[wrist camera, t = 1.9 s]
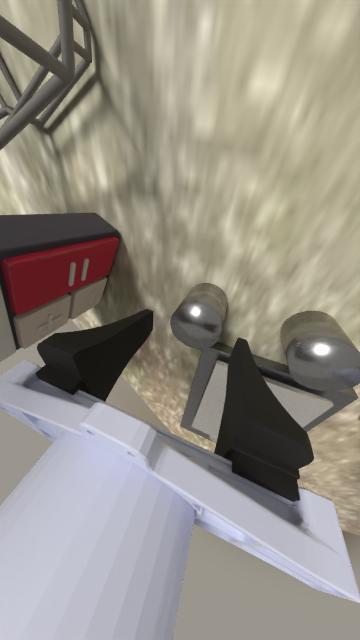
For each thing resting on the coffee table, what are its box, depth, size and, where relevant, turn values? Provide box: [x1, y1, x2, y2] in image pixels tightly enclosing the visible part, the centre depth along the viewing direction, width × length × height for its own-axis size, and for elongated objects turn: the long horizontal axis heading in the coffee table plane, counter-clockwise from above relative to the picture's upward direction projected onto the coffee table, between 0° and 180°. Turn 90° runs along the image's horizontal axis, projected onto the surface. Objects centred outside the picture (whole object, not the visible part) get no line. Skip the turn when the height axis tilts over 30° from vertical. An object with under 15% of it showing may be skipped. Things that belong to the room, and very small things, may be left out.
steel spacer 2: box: [281, 311, 360, 391], centre depth 14 cm, size 4×4×5 cm
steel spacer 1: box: [170, 283, 228, 349], centre depth 16 cm, size 4×4×5 cm
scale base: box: [180, 343, 358, 443], centre depth 25 cm, size 16×24×2 cm, turn 173°
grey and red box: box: [0, 213, 119, 362], centre depth 14 cm, size 11×4×15 cm, turn 147°
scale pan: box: [191, 360, 333, 438], centre depth 23 cm, size 12×18×1 cm, turn 173°
